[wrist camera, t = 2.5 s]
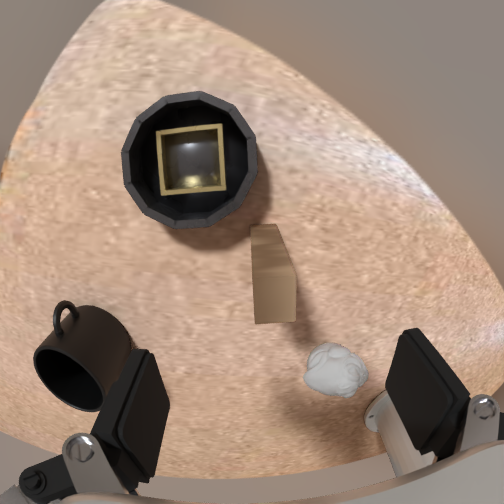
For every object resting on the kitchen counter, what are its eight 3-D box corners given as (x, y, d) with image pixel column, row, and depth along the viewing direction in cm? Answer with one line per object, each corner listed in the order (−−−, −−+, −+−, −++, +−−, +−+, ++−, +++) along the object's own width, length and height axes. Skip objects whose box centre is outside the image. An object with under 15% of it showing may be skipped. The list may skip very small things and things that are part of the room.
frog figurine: (349, 366, 33) (366, 404, 26) (296, 371, 33) (304, 413, 26) (357, 327, 31) (378, 365, 24) (298, 332, 31) (309, 374, 24)
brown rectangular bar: (275, 223, 27) (296, 275, 16) (276, 254, 28) (295, 321, 17) (250, 225, 27) (252, 277, 16) (252, 255, 28) (254, 324, 17)
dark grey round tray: (252, 95, 23) (253, 86, 20) (258, 215, 27) (260, 224, 23) (134, 110, 23) (119, 105, 20) (143, 223, 27) (130, 232, 23)
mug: (113, 282, 29) (73, 325, 20) (141, 366, 33) (119, 417, 24) (52, 285, 29) (10, 321, 20) (83, 362, 33) (56, 405, 24)
